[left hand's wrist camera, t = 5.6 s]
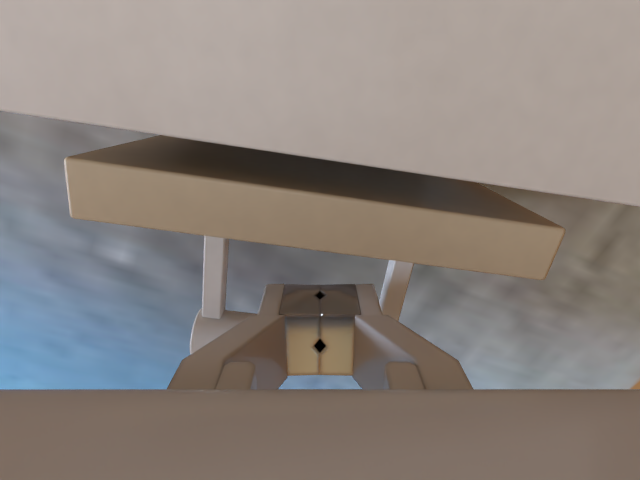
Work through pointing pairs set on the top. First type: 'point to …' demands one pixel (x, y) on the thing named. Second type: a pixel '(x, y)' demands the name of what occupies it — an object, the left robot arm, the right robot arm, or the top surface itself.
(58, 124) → the top surface
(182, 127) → the cabinet
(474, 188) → the drawer
